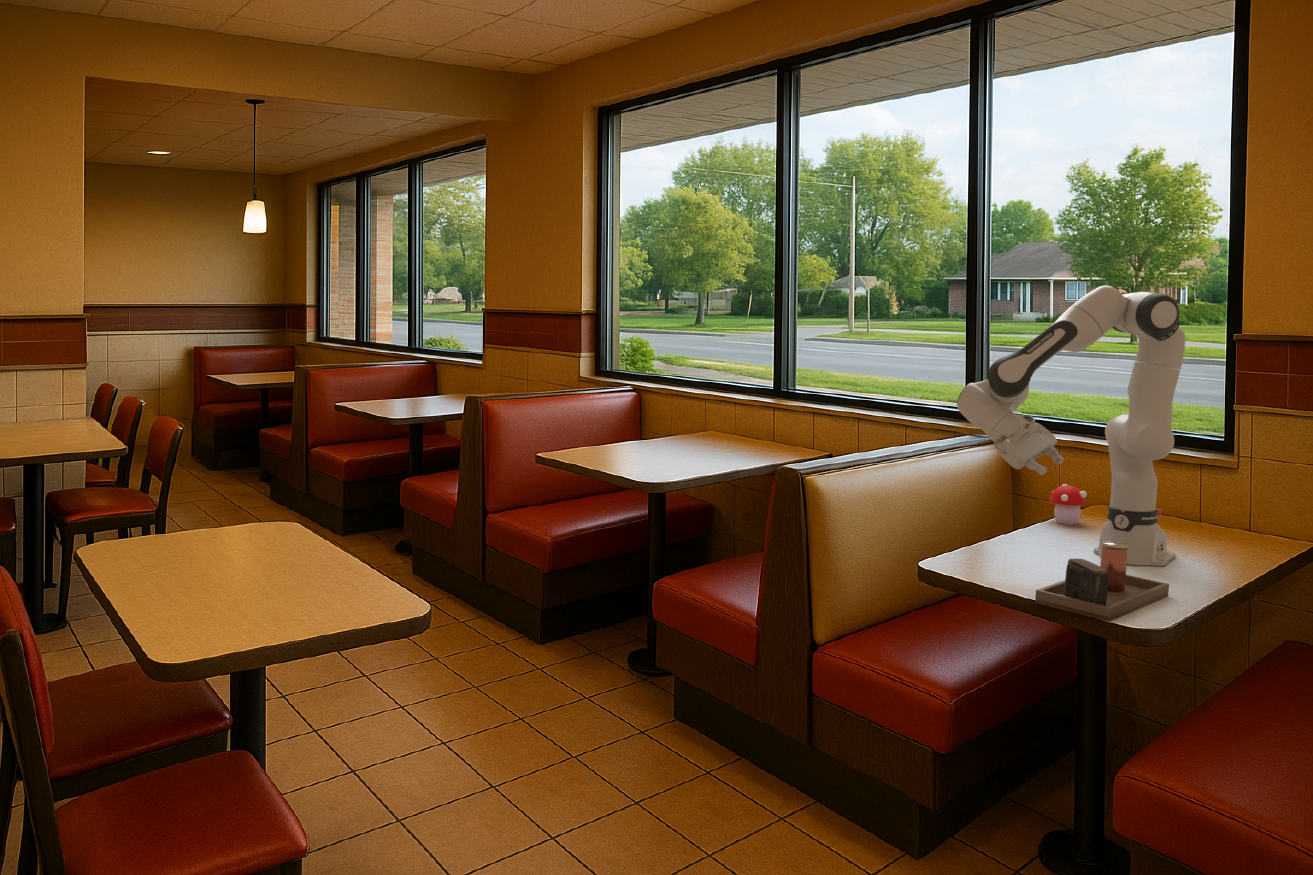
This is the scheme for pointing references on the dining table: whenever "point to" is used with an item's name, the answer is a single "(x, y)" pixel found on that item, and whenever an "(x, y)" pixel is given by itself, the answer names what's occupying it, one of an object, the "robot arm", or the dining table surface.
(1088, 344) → the robot arm
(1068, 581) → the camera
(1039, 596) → the tray
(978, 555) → the dining table surface
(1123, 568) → the tin
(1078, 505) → the mushroom
